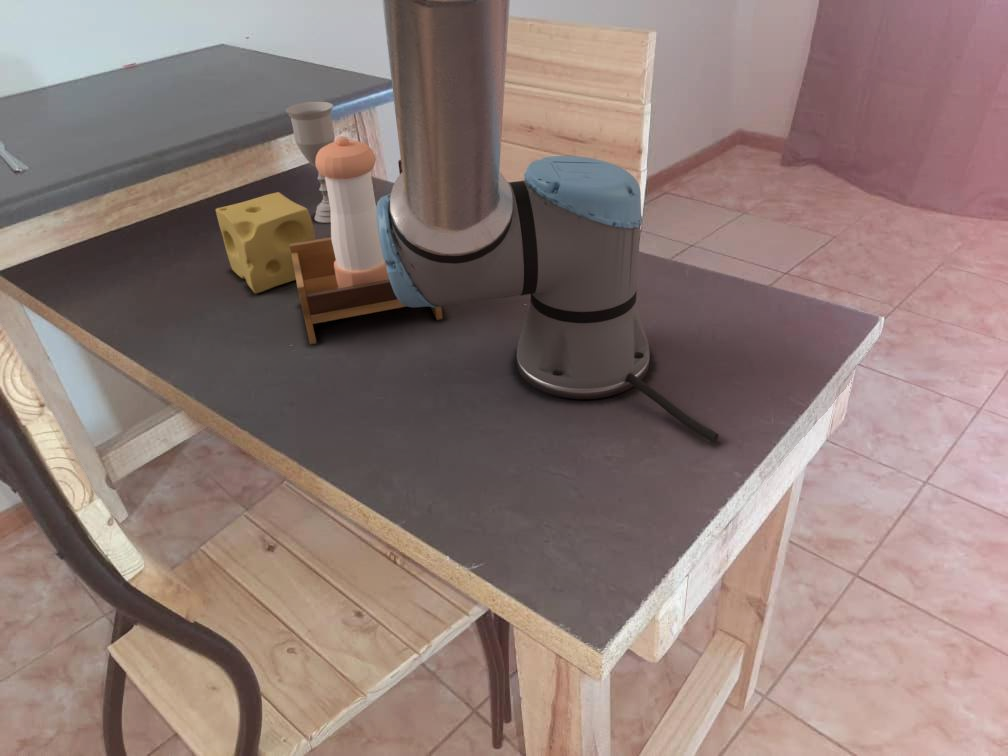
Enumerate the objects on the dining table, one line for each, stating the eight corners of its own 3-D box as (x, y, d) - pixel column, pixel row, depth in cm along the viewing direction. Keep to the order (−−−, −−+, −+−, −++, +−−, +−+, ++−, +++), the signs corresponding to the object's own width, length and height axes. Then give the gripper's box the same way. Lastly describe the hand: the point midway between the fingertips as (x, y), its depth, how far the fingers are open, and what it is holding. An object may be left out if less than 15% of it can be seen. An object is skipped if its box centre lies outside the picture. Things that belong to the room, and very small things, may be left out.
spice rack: (442, 319, 100) (435, 255, 95) (310, 344, 97) (295, 280, 92) (424, 282, 109) (417, 222, 104) (302, 304, 106) (289, 243, 100)
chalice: (353, 207, 134) (335, 100, 124) (349, 223, 128) (330, 112, 118) (310, 210, 134) (289, 103, 123) (304, 226, 128) (282, 115, 118)
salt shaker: (344, 303, 97) (316, 151, 86) (332, 279, 103) (304, 134, 92) (400, 290, 99) (379, 140, 88) (386, 267, 105) (364, 124, 94)
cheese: (255, 295, 108) (237, 229, 103) (228, 269, 116) (210, 206, 110) (323, 273, 113) (310, 208, 108) (293, 249, 121) (279, 187, 115)
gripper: (348, -139, 91) (374, 53, 103) (394, -139, 71) (420, 98, 83) (410, -143, 93) (429, 46, 105) (472, -144, 73) (486, 88, 85)
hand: (425, 69), depth 94 cm, fingers open, 13 cm apart
